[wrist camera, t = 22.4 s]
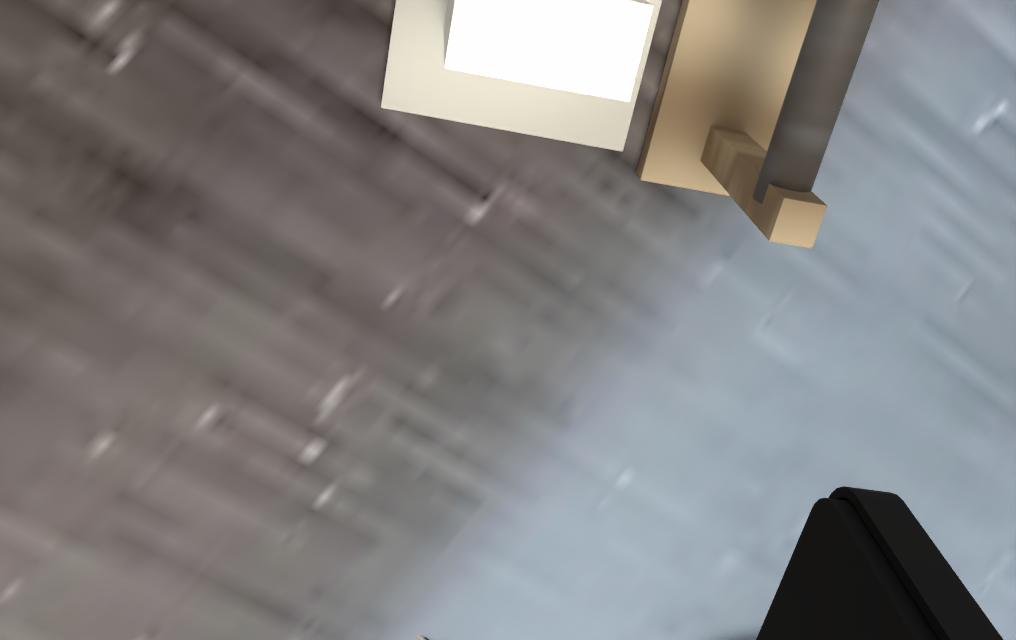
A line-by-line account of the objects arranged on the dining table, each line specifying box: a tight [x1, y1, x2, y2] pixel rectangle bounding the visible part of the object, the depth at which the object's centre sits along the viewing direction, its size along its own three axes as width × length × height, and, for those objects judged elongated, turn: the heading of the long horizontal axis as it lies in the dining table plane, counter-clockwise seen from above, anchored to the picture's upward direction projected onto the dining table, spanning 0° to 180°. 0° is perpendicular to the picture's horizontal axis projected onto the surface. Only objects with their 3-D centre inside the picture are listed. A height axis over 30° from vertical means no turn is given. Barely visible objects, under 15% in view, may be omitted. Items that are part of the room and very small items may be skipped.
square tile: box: [381, 0, 662, 151], centre depth 36 cm, size 10×10×1 cm
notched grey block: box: [444, 0, 653, 102], centre depth 32 cm, size 6×3×8 cm, turn 79°
